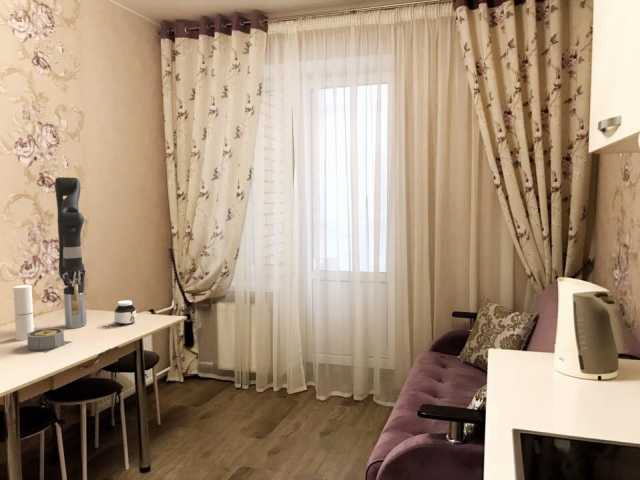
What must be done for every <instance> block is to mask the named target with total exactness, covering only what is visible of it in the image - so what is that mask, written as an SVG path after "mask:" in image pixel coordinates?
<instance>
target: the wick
mask: <svg viewBox="0 0 640 480" xmlns="http://www.w3.org/2000/svg"><path fill="white" fill-rule="evenodd" d="M74 293H75V294H74V295H71V305H72V315H78V314H79V299H78V284H74Z"/></svg>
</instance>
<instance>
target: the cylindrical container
mask: <svg viewBox="0 0 640 480" xmlns="http://www.w3.org/2000/svg"><path fill="white" fill-rule="evenodd" d="M32 288H33V287H32V285H30V284H25V285H24V284H23V285H15V286H13V303H14V307H13V308H14V321H15V322H14V323H15V338H16V341H23V342H24V341H27V333H29V332H32V331H35V330H34V329H35V327H34V307H33V290H32Z"/></svg>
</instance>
